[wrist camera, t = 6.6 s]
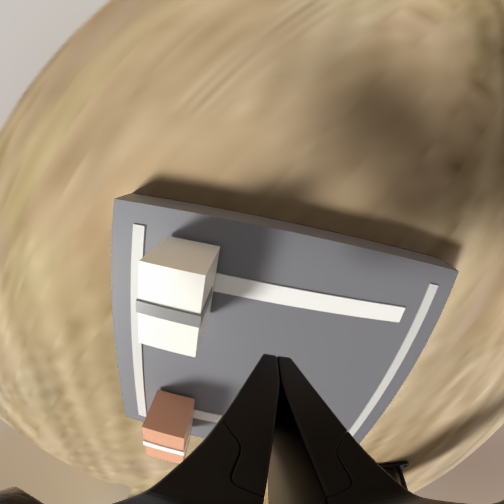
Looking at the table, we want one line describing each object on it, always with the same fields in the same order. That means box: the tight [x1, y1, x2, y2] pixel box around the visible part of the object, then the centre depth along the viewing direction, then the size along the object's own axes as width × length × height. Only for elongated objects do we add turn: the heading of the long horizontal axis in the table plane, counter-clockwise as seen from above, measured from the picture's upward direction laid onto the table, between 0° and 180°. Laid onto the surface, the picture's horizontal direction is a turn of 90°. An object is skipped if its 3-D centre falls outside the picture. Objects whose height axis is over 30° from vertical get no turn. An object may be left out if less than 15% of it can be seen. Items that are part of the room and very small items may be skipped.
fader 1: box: [136, 236, 220, 357], centre depth 11 cm, size 2×4×3 cm
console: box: [111, 193, 459, 443], centre depth 16 cm, size 18×16×2 cm
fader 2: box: [142, 390, 195, 464], centre depth 15 cm, size 2×4×3 cm
